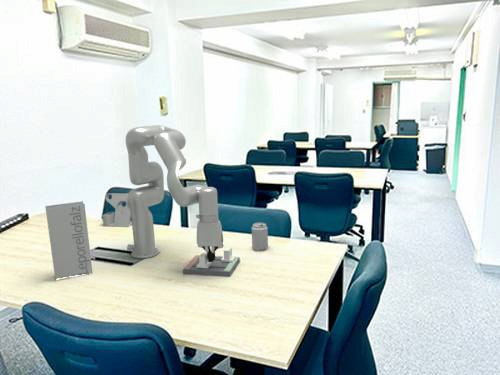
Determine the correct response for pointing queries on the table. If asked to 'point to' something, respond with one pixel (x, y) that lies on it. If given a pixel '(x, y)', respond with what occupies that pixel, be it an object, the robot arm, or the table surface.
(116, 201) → the phone holder
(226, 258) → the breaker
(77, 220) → the brochure
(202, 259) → the breaker
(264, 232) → the can
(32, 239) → the table surface
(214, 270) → the slider switch panel
